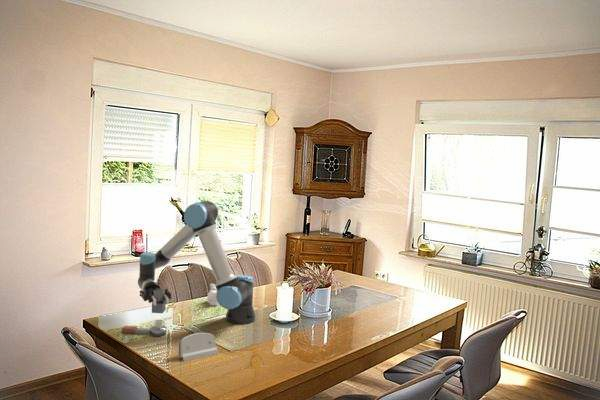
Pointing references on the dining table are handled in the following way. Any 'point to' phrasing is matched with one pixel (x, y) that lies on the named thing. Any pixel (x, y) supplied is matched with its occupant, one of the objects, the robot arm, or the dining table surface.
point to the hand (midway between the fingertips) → (161, 302)
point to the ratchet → (146, 330)
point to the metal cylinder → (159, 301)
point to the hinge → (197, 346)
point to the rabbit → (212, 295)
